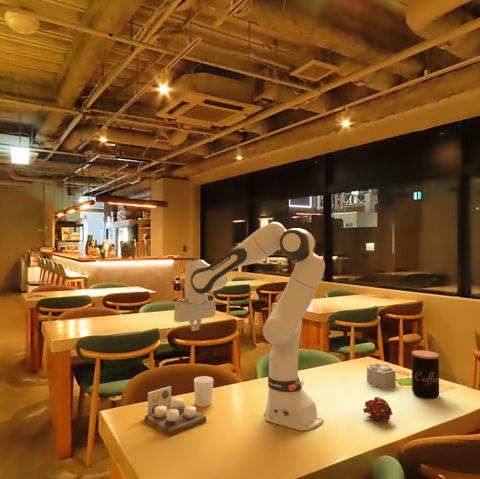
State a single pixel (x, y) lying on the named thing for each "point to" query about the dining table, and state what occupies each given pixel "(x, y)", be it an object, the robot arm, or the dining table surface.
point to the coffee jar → (425, 374)
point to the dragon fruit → (378, 409)
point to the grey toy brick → (381, 375)
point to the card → (159, 399)
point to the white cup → (203, 391)
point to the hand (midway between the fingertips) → (195, 330)
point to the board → (174, 422)
